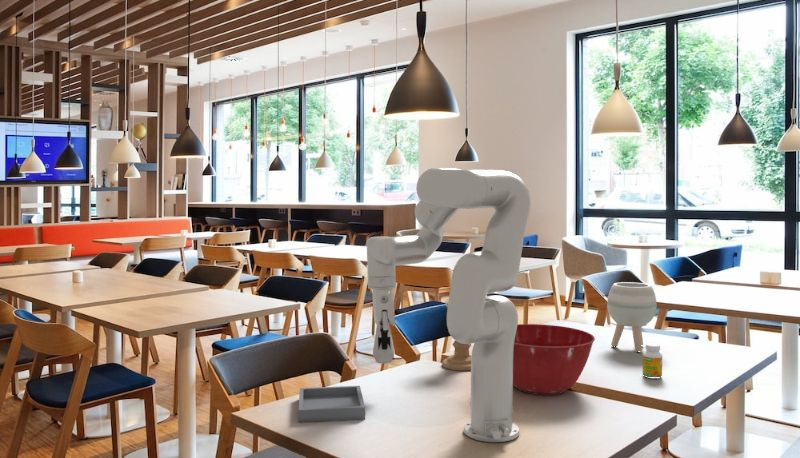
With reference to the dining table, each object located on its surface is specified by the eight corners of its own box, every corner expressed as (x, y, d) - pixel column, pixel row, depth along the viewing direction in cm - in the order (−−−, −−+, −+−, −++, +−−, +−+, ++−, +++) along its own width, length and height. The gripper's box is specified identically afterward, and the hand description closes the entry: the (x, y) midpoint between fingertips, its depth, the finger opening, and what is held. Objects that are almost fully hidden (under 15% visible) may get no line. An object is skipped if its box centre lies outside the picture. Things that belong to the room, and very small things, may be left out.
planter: (596, 346, 240) (597, 283, 239) (631, 341, 247) (632, 280, 246) (629, 356, 226) (631, 289, 224) (666, 351, 233) (667, 286, 231)
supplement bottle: (641, 378, 200) (641, 345, 200) (643, 373, 205) (644, 341, 205) (660, 380, 198) (661, 347, 197) (663, 376, 203) (663, 343, 202)
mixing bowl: (593, 378, 201) (594, 326, 200) (594, 408, 173) (595, 348, 172) (497, 371, 208) (498, 321, 208) (483, 399, 181) (483, 341, 180)
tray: (365, 419, 166) (365, 407, 165) (298, 422, 164) (298, 410, 163) (359, 396, 183) (359, 385, 183) (299, 399, 181) (299, 388, 181)
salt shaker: (392, 364, 180) (390, 315, 180) (371, 364, 182) (369, 315, 181) (396, 359, 186) (395, 312, 186) (376, 359, 187) (374, 312, 187)
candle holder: (449, 372, 207) (450, 306, 206) (436, 362, 219) (437, 300, 217) (487, 369, 210) (487, 304, 209) (472, 359, 222) (473, 298, 221)
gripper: (399, 285, 175) (401, 356, 176) (392, 278, 192) (393, 343, 192) (370, 286, 174) (372, 357, 175) (365, 279, 191) (367, 345, 191)
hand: (383, 349), depth 184 cm, fingers closed on salt shaker, 3 cm apart
